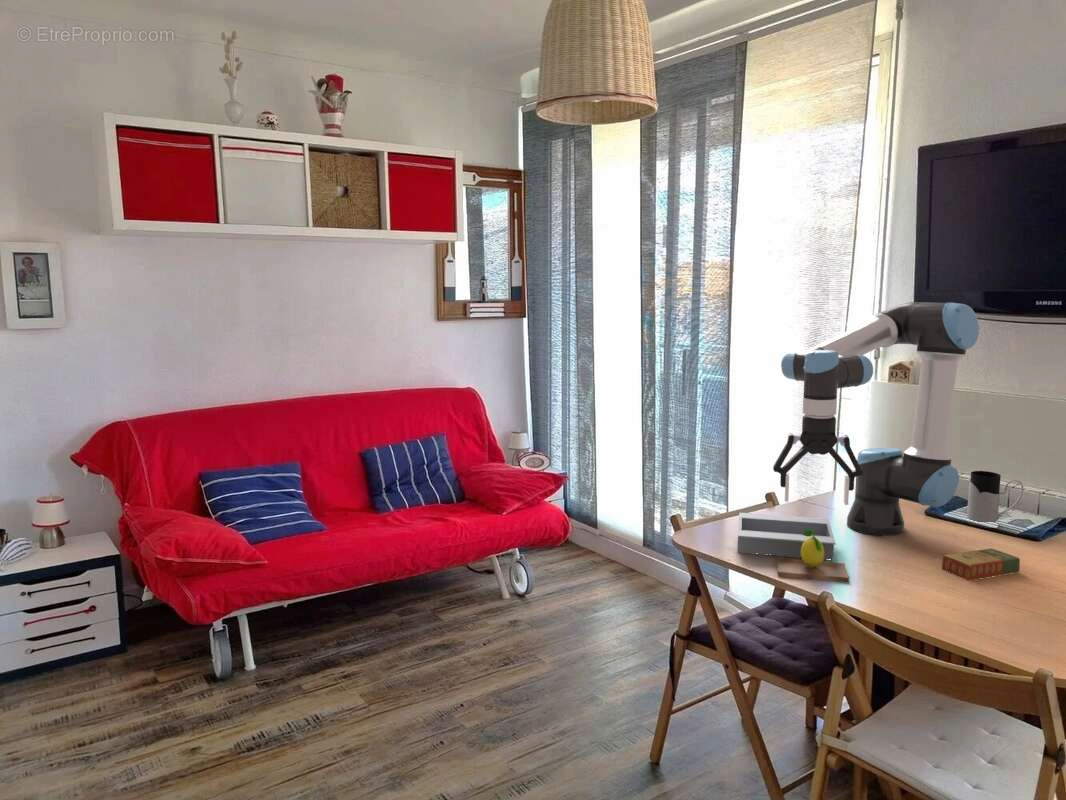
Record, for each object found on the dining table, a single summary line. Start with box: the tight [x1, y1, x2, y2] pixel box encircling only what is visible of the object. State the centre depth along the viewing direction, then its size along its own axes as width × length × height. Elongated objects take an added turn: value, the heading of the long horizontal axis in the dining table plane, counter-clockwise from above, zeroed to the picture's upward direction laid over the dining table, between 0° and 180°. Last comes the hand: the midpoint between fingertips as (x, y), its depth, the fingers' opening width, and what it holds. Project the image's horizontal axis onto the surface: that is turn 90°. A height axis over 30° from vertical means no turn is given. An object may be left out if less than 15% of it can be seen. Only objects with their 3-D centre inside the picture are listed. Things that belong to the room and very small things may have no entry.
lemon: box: [801, 529, 825, 568], centre depth 195 cm, size 7×6×10 cm
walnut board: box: [776, 557, 850, 583], centre depth 195 cm, size 16×10×1 cm, turn 75°
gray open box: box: [737, 512, 837, 561], centre depth 212 cm, size 24×21×6 cm
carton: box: [941, 548, 1021, 581], centre depth 195 cm, size 8×16×4 cm, turn 109°
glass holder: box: [966, 470, 1024, 522], centre depth 230 cm, size 9×14×15 cm, turn 74°
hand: (815, 501), depth 193 cm, fingers open, 13 cm apart
